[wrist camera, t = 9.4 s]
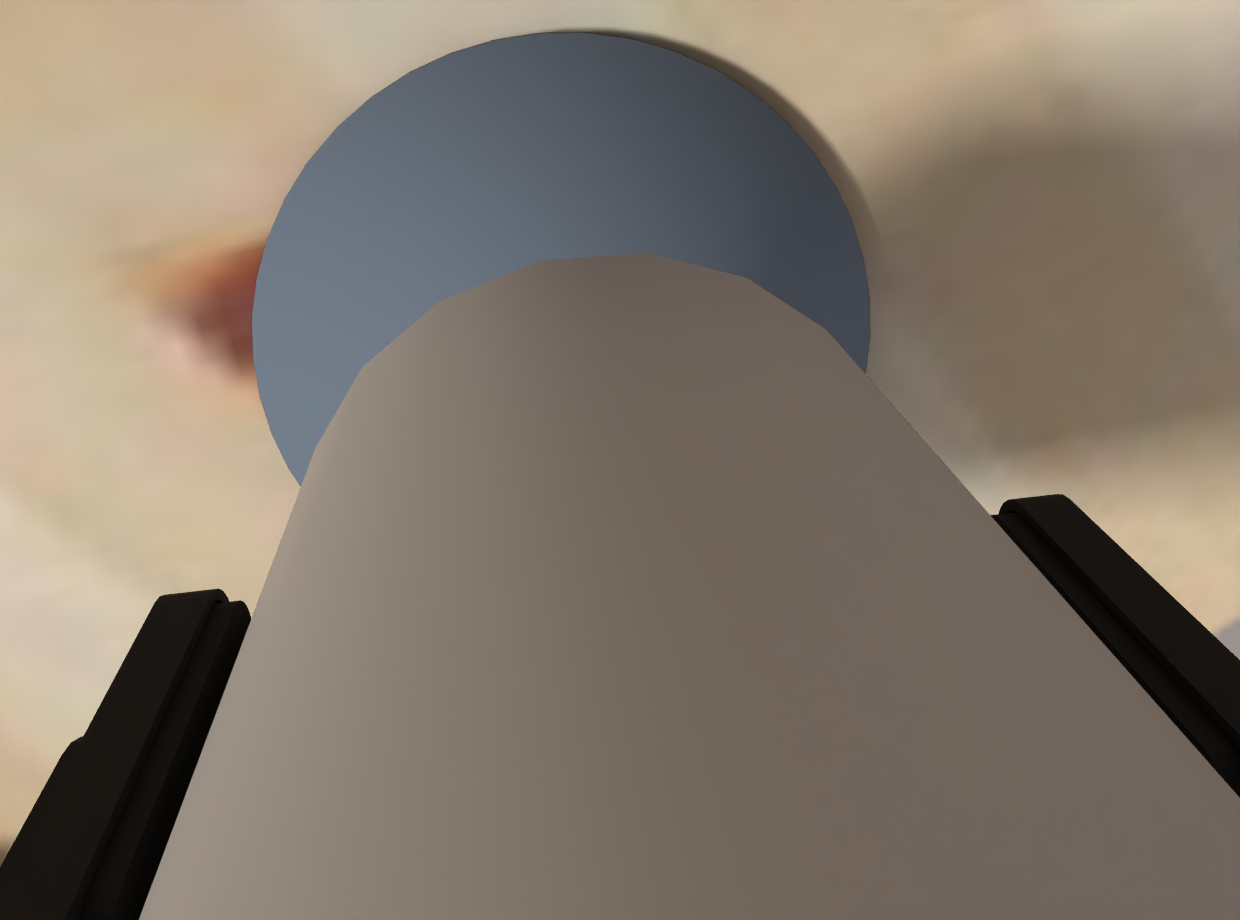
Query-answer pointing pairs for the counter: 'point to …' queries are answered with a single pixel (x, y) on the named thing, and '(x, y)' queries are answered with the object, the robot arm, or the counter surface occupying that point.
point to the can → (669, 651)
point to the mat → (535, 204)
